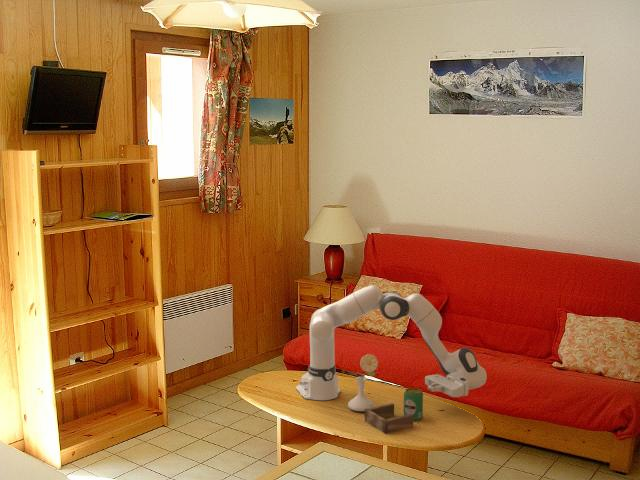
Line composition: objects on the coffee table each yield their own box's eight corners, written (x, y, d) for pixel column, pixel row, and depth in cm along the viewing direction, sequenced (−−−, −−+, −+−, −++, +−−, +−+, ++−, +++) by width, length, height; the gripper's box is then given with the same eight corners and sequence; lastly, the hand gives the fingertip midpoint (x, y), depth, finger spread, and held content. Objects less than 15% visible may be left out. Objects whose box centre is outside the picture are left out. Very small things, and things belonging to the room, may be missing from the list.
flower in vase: (346, 413, 327) (346, 357, 323) (349, 403, 338) (349, 349, 334) (376, 414, 325) (377, 358, 321) (378, 404, 336) (379, 350, 332)
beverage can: (400, 419, 320) (400, 391, 318) (408, 412, 327) (408, 386, 325) (418, 422, 316) (418, 395, 314) (425, 416, 323) (426, 389, 321)
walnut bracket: (364, 420, 318) (364, 409, 318) (392, 414, 325) (392, 403, 324) (385, 433, 306) (385, 421, 305) (413, 426, 312) (413, 415, 312)
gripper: (439, 369, 339) (414, 374, 332) (470, 382, 321) (444, 388, 315) (439, 382, 340) (414, 388, 333) (470, 396, 322) (444, 403, 316)
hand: (429, 388), depth 324 cm, fingers closed
